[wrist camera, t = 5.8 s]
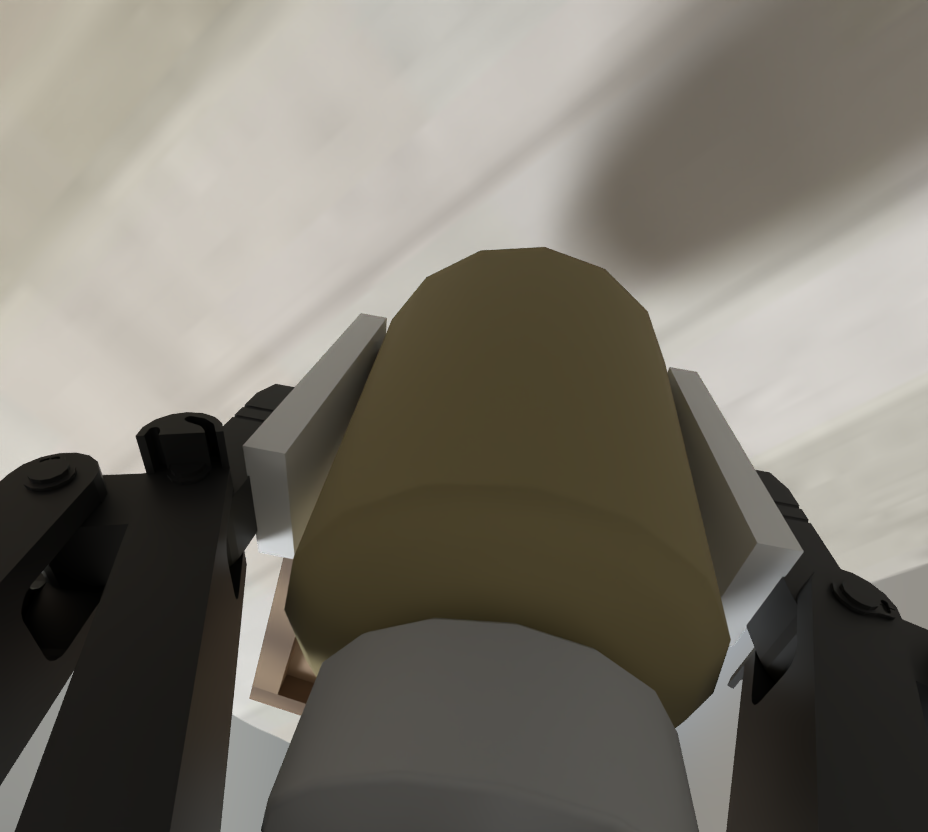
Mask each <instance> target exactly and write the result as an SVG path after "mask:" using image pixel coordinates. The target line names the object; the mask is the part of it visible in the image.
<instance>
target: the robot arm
mask: <svg viewBox="0 0 928 832" xmlns="http://www.w3.org/2000/svg"><path fill="white" fill-rule="evenodd" d="M386 321H387V318H384V317H379V316H373V315H367V314H360V315H359V316H358V317H357V318H356V319H355V321H354V322H353V323H352V324H351V325H350V326H349V327H348V328H347V330H346V331H345V332H344V333H343V334H342V335H341V336H340V337H339V338H338V340H337V341H336V342H335V343H334V344H333V345H332V346H331V347H330V349H329V350H328V351H327V352H326V353H325V354H324V355H323V356H322V357H321V359H320V360H319V361H318V362H317V363H316V364H315V365H314V366H313V368H312V369H311V370H310V371H309V372H308V373H307V374H306V375H305V377H304V378H303V379H302V380H301V381H300V382H299V383H298V384H297V385H296V387H290V386H285V385H279V384H274V385H272V386H270V387H268V388H266V389H264V390H262V391H260V392H258V393H256V394H255V395H254V396H253V397H252V398H251V399H250V400H249V401H248V402H247V403H246V404H245V407H242V408H241V409H240V410H239V411H238V412H237V413H236V414H235V417H232V418H231V419H230V420H229V421H228V422H227V423H226V424H225V425H224V426H222V423H221V422H220V421H219V420H218V419H217V418H215V417H213V416H210V415H207V414H204V413H192V412H185V413H178V414H171V415H168V416H165V417H162V418H159V419H156V420H154V421H152V422H150V423H149V424H147V425H145V426H144V427H143V428H142V429H141V430H140V431H139V432H138V434H137V435H136V439H137V442H138V446H139V449H140V453H141V456H142V459H143V463H144V466H145V469H146V473H143V474H121V475H102V473H101V470H100V467H99V464H98V461H96V460H95V459H93V458H92V457H91V456H89V455H84V454H80V453H59V454H54V455H48V456H44V457H40V458H38V459H36V460H33V461H31V462H28V463H26V464H23V465H22V466H20V467H19V468H17V469H15V470H14V471H12V472H11V473H9V474H8V475H7V476H6V477H5V478H4V479H2V480H1V481H0V785H1V784H2V782H3V781H4V779H5V777H6V776H7V774H8V773H9V771H10V769H11V768H12V766H13V765H14V763H15V762H16V760H17V759H18V757H19V755H20V754H21V752H22V751H23V749H24V747H25V746H26V745H27V743H28V741H29V740H30V738H31V737H32V735H33V734H34V732H35V730H36V729H37V727H38V726H39V724H40V723H41V721H42V719H43V718H44V716H45V715H46V713H47V712H48V710H49V709H50V707H51V705H52V704H53V702H54V701H55V699H56V698H57V696H58V695H59V693H60V691H61V690H62V688H63V687H64V685H65V684H66V682H67V680H68V679H69V677H70V676H71V674H72V672H73V671H74V673H73V675H72V678H71V681H70V684H69V686H68V689H67V692H66V695H65V697H64V700H63V702H62V705H61V708H60V711H59V713H58V716H57V719H56V721H55V724H54V727H53V729H52V732H51V735H50V738H49V740H48V743H47V746H46V748H45V751H44V754H43V756H42V759H41V762H40V765H39V767H38V770H37V773H36V775H35V778H34V781H33V784H32V786H31V789H30V792H29V794H28V797H27V800H26V802H25V805H24V808H23V810H22V813H21V816H20V819H19V821H18V824H17V827H16V830H15V832H220V829H221V818H222V809H223V799H224V789H225V778H226V768H227V759H228V748H229V737H230V727H231V718H232V708H233V698H234V688H235V678H236V667H237V657H238V647H239V637H240V627H241V617H242V607H243V597H244V586H245V576H246V566H247V563H246V558H245V552H244V550H245V549H246V547H247V546H248V544H249V543H250V541H251V540H252V538H253V537H254V536H255V534H256V537H257V544H258V550H259V553H264V554H269V555H274V556H279V557H284V558H289V559H293V557H294V555H295V553H296V550H297V548H298V545H299V543H300V541H301V538H302V536H303V533H304V531H305V528H306V526H307V524H308V521H309V519H310V516H311V514H312V512H313V509H314V507H315V504H316V502H317V500H318V497H319V495H320V492H321V490H322V487H323V485H324V483H325V480H326V478H327V475H328V473H329V471H330V468H331V466H332V463H333V461H334V458H335V456H336V454H337V451H338V449H339V446H340V444H341V442H342V439H343V437H344V434H345V432H346V430H347V427H348V425H349V422H350V420H351V417H352V415H353V413H354V410H355V408H356V405H357V403H358V401H359V398H360V396H361V393H362V391H363V388H364V386H365V384H366V381H367V379H368V376H369V374H370V372H371V369H372V367H373V364H374V362H375V360H376V357H377V355H378V352H379V350H380V347H381V345H382V343H383V340H384V338H385V335H386ZM667 374H668V378H669V382H670V386H671V390H672V395H673V399H674V403H675V407H676V411H677V416H678V420H679V424H680V428H681V432H682V437H683V441H684V445H685V449H686V453H687V458H688V462H689V466H690V470H691V474H692V478H693V483H694V487H695V491H696V495H697V499H698V504H699V508H700V512H701V516H702V520H703V525H704V529H705V533H706V537H707V541H708V546H709V550H710V554H711V558H712V562H713V567H714V571H715V575H716V579H717V583H718V588H719V592H720V596H721V600H722V604H723V609H724V613H725V617H726V621H727V625H728V630H729V634H730V638H731V641H730V644H729V646H732V647H733V646H734V645H735V643H736V642H737V641H738V639H739V638H740V637H741V635H742V634H743V633H744V631H745V630H746V629H748V631H749V634H750V637H751V639H752V642H753V644H754V649H753V650H752V651H751V652H750V654H749V655H748V656H747V658H746V659H745V660H744V661H743V663H742V664H741V665H740V666H739V668H738V669H737V670H736V671H735V673H734V674H733V675H732V677H731V678H730V681H729V683H728V686H729V687H731V688H734V687H735V686H736V685H737V684H738V682H739V681H740V680H742V679H743V683H742V692H741V701H740V710H739V719H738V728H737V738H736V747H735V756H734V765H733V775H732V784H731V794H730V803H729V812H728V821H727V830H726V832H928V630H927V629H924V628H922V627H919V626H917V625H914V624H912V623H910V622H907V621H905V620H903V619H902V618H901V616H900V614H899V612H898V609H897V607H896V606H895V605H894V604H893V603H892V602H891V601H890V599H889V598H888V597H887V596H886V595H885V594H884V593H883V592H881V591H880V590H879V589H878V588H876V587H875V586H874V585H872V584H871V583H870V582H868V581H866V580H864V579H863V578H861V577H859V576H857V575H855V574H853V573H851V572H848V571H845V570H841V569H840V567H839V566H838V564H837V563H836V561H835V560H834V558H833V557H832V555H831V554H830V552H829V550H828V549H827V547H826V546H825V544H824V543H823V541H822V540H821V538H820V537H819V535H818V534H817V532H816V531H815V529H814V527H813V526H812V524H811V523H808V518H807V517H806V515H805V514H804V512H803V511H802V509H799V504H798V503H797V501H796V500H795V498H794V497H793V495H792V494H791V492H790V491H789V489H788V488H787V487H786V486H785V485H783V484H782V483H781V482H780V481H779V480H778V479H777V478H775V477H774V476H773V475H772V474H771V473H770V472H764V471H759V470H755V469H754V467H753V465H752V464H751V462H750V460H749V459H748V457H747V455H746V454H745V452H744V450H743V449H742V447H741V445H740V443H739V442H738V440H737V438H736V437H735V435H734V433H733V432H732V430H731V428H730V427H729V425H728V423H727V422H726V420H725V418H724V417H723V415H722V413H721V411H720V410H719V408H718V406H717V405H716V403H715V401H714V400H713V398H712V396H711V395H710V393H709V391H708V390H707V388H706V386H705V385H704V383H703V381H702V380H701V378H700V376H699V374H698V373H697V372H694V371H688V370H683V369H677V368H671V367H670V368H669V370H668V373H667Z"/></svg>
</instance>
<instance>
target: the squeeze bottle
mask: <svg viewBox="0 0 928 832" xmlns="http://www.w3.org/2000/svg"><path fill="white" fill-rule="evenodd" d="M284 610H285V613H286V615H287V617H288V620H289V622H290V624H291V627H292V629H293V631H294V634H295V636H296V638H297V641H298V643H299V645H300V648H301V650H302V652H303V655H304V657H305V659H306V661H307V662H308V664H309V666H310V667H311V669H312V671H313V673H314V674H315V676H316V680H315V682H314V685H313V687H312V690H311V693H310V695H309V698H308V700H307V703H306V705H305V708H304V710H303V713H302V715H301V718H300V720H299V723H298V725H297V728H296V730H295V733H294V735H293V738H292V740H291V743H290V746H289V748H288V750H287V753H286V755H285V758H284V761H283V763H282V766H281V768H280V771H279V773H278V776H277V778H276V781H275V783H274V786H273V788H272V791H271V793H270V796H269V798H268V802H267V806H266V810H265V815H264V819H263V824H262V828H261V831H262V832H699V829H698V825H697V820H696V816H695V811H694V807H693V802H692V798H691V793H690V788H689V784H688V779H687V775H686V770H685V766H684V761H683V756H682V752H681V747H680V743H679V738H678V733H677V731H676V730H675V728H676V727H677V726H679V725H680V724H681V723H682V722H684V721H685V720H686V719H687V718H688V717H689V716H690V715H691V714H692V713H693V712H694V711H695V710H696V709H697V708H698V707H699V706H701V704H702V703H704V701H706V700H707V699H708V698H709V696H711V695H712V694H713V692H714V689H715V686H716V683H717V680H718V677H719V674H720V671H721V668H722V665H723V662H724V659H725V656H726V653H727V650H728V647H729V644H730V641H731V638H730V634H729V630H728V625H727V621H726V617H725V613H724V609H723V604H722V600H721V596H720V592H719V588H718V583H717V579H716V575H715V571H714V567H713V562H712V558H711V554H710V550H709V546H708V541H707V537H706V533H705V529H704V525H703V520H702V516H701V512H700V508H699V504H698V499H697V495H696V491H695V487H694V483H693V478H692V474H691V470H690V466H689V462H688V458H687V453H686V449H685V445H684V441H683V437H682V432H681V428H680V424H679V420H678V416H677V411H676V407H675V403H674V399H673V395H672V390H671V386H670V382H669V378H668V374H667V369H666V365H665V362H664V359H663V356H662V353H661V350H660V347H659V344H658V341H657V338H656V335H655V332H654V329H653V326H652V323H651V320H650V317H649V314H648V311H647V310H646V309H645V308H644V307H643V306H642V305H641V304H640V303H639V302H638V301H637V300H636V299H635V298H634V297H633V296H632V295H631V294H630V293H629V292H628V291H627V290H626V289H625V288H624V287H623V286H622V285H620V284H619V283H618V282H617V281H616V280H615V279H614V278H613V277H612V276H611V275H610V274H609V273H608V272H607V271H606V270H605V269H603V268H601V267H598V266H595V265H592V264H590V263H587V262H584V261H581V260H579V259H576V258H573V257H571V256H568V255H565V254H562V253H560V252H557V251H554V250H552V249H549V248H546V247H537V248H519V249H500V250H482V251H479V252H477V253H475V254H473V255H471V256H469V257H467V258H465V259H463V260H461V261H459V262H457V263H455V264H453V265H451V266H449V267H447V268H445V269H442V270H440V271H438V272H436V273H434V274H432V275H430V276H428V277H426V279H425V280H424V281H423V282H422V284H421V285H420V286H419V287H418V288H417V290H416V291H415V292H414V293H413V295H412V296H411V297H410V298H409V299H408V301H407V302H406V303H405V304H404V306H403V307H402V308H401V309H400V311H399V312H398V313H397V314H396V315H395V317H394V318H393V319H392V321H391V323H390V326H389V328H388V331H387V333H386V335H385V338H384V340H383V343H382V345H381V347H380V350H379V352H378V355H377V357H376V360H375V362H374V364H373V367H372V369H371V372H370V374H369V376H368V379H367V381H366V384H365V386H364V388H363V391H362V393H361V396H360V398H359V401H358V403H357V405H356V408H355V410H354V413H353V415H352V417H351V420H350V422H349V425H348V427H347V430H346V432H345V434H344V437H343V439H342V442H341V444H340V446H339V449H338V451H337V454H336V456H335V458H334V461H333V463H332V466H331V468H330V471H329V473H328V475H327V478H326V480H325V483H324V485H323V487H322V490H321V492H320V495H319V497H318V500H317V502H316V504H315V507H314V509H313V512H312V514H311V516H310V519H309V521H308V524H307V526H306V528H305V531H304V533H303V536H302V538H301V541H300V543H299V545H298V548H297V550H296V553H295V555H294V557H293V563H292V568H291V574H290V580H289V585H288V591H287V597H286V602H285V608H284Z"/></svg>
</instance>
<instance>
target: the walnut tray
mask: <svg viewBox="0 0 928 832" xmlns="http://www.w3.org/2000/svg"><path fill="white" fill-rule="evenodd" d="M292 563H293V559H289V558H283V562H282V566H281V570H280V574H279V578H278V582H277V587H276V591H275V595H274V599H273V603H272V607H271V611H270V615H269V620H268V624H267V628H266V632H265V636H264V640H263V644H262V649H261V653H260V657H259V661H258V665H257V669H256V673H255V678H254V682H253V686H252V690H251V694H250V698H249V699H252V700H255V701H258V702H261V703H264V704H267V705H270V706H273V707H276V708H279V709H283V710H286V711H289V712H292V713H295V714H298V715H302V713H303V710H304V708H305V705H306V703H307V700H308V698H309V695H310V693H311V690H312V687H313V685H314V682H315V680H316V676H315V674H314V673H313V671H312V669H311V667H310V666H309V664H308V662H307V661H306V659H305V657H304V655H303V652H302V650H301V648H300V645H299V643H298V641H297V638H296V636H295V634H294V631H293V629H292V627H291V624H290V622H289V620H288V617H287V615H286V613H285V610H284V608H285V602H286V597H287V591H288V585H289V580H290V574H291V568H292Z"/></svg>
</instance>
